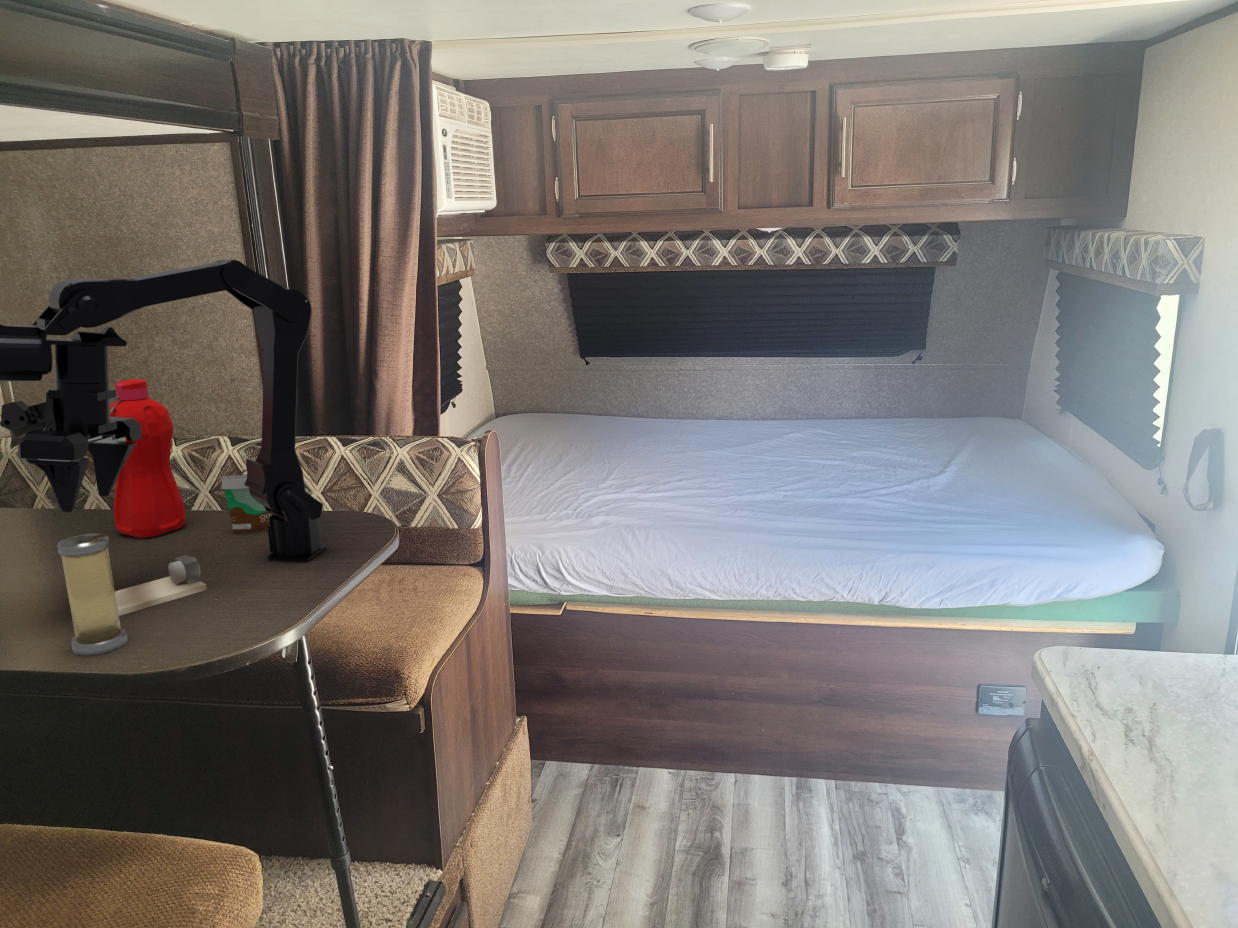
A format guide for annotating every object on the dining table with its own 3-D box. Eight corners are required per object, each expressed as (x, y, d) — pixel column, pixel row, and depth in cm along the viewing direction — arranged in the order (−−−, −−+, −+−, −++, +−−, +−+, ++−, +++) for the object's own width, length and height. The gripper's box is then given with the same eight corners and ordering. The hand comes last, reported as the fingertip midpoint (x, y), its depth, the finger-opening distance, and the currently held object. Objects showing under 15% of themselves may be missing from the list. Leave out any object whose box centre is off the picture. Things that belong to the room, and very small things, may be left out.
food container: (262, 538, 141) (255, 478, 138) (227, 536, 142) (220, 476, 139) (302, 515, 152) (296, 459, 150) (270, 513, 153) (263, 458, 151)
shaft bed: (186, 577, 124) (183, 551, 123) (209, 589, 120) (205, 563, 119) (72, 609, 114) (67, 581, 113) (92, 623, 109) (87, 595, 108)
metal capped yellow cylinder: (137, 635, 106) (121, 533, 103) (106, 656, 100) (88, 549, 97) (95, 633, 106) (78, 531, 103) (61, 654, 101) (42, 547, 98)
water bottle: (98, 537, 142) (72, 384, 136) (160, 518, 151) (139, 374, 145) (134, 545, 138) (110, 388, 131) (195, 526, 147) (175, 378, 141)
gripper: (55, 372, 118) (59, 485, 120) (-35, 383, 99) (-28, 517, 102) (141, 377, 119) (144, 490, 121) (69, 390, 101) (73, 522, 103)
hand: (86, 503), depth 112 cm, fingers open, 9 cm apart
